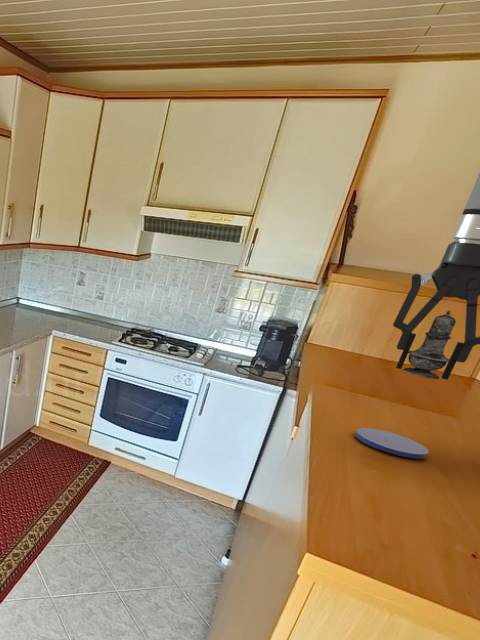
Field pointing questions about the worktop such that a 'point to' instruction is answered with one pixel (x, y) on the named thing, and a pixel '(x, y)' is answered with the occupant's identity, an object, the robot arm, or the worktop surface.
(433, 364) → the grey tall tiered piece
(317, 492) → the worktop surface
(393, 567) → the worktop surface
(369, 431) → the plate
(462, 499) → the worktop surface
